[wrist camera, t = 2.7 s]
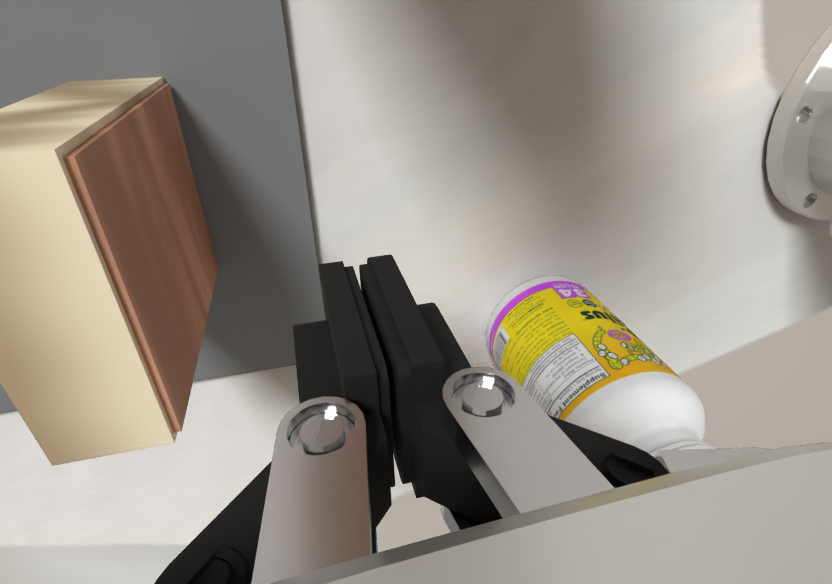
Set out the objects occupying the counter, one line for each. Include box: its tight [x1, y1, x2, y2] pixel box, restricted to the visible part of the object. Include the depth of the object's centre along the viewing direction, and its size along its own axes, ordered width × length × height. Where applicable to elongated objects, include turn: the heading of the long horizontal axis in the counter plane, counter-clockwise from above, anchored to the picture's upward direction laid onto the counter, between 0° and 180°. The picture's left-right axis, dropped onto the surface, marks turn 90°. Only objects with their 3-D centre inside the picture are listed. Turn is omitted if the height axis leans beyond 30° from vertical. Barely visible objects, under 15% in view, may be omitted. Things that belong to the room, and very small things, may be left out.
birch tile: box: [0, 77, 218, 466], centre depth 15 cm, size 3×8×10 cm, turn 1°
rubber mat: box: [0, 0, 326, 413], centre depth 18 cm, size 20×20×1 cm
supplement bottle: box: [486, 276, 716, 457], centre depth 23 cm, size 7×7×13 cm
